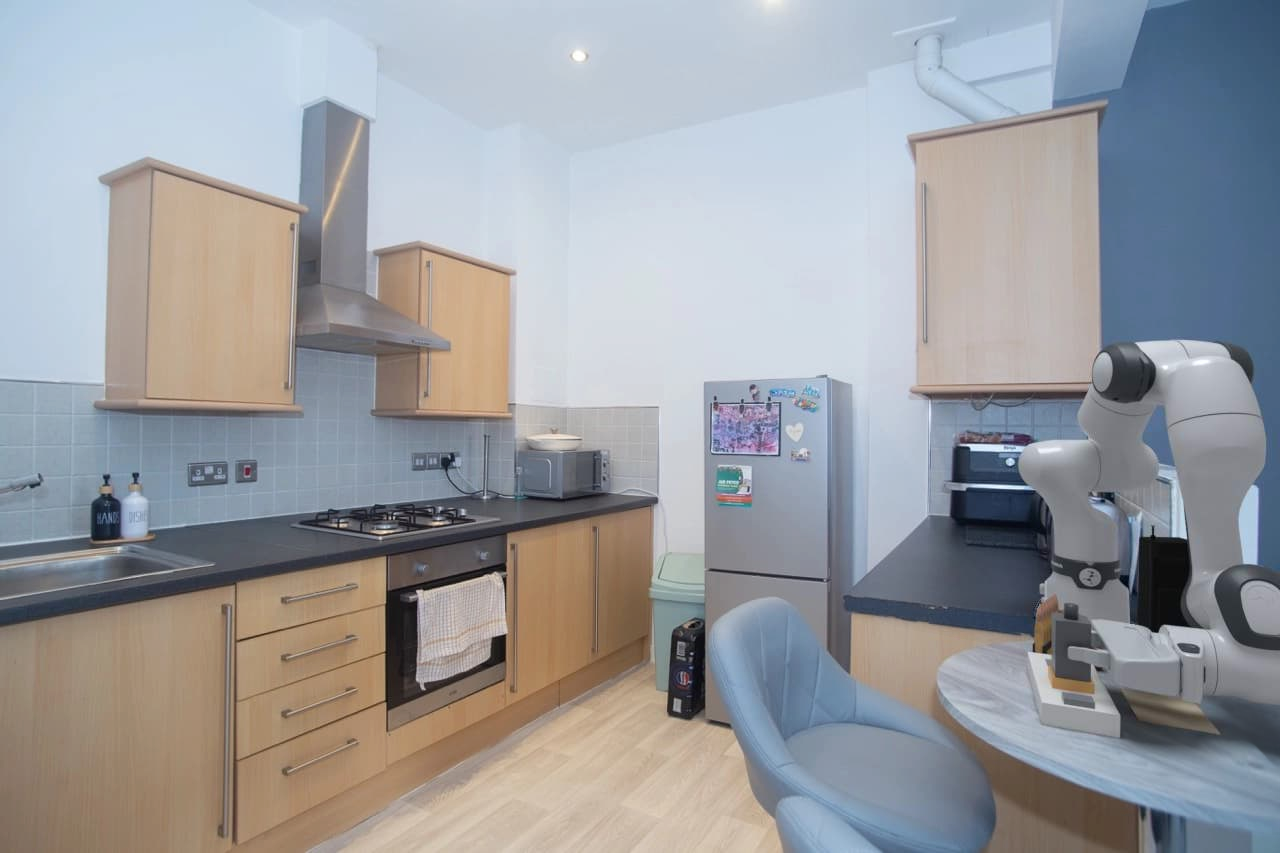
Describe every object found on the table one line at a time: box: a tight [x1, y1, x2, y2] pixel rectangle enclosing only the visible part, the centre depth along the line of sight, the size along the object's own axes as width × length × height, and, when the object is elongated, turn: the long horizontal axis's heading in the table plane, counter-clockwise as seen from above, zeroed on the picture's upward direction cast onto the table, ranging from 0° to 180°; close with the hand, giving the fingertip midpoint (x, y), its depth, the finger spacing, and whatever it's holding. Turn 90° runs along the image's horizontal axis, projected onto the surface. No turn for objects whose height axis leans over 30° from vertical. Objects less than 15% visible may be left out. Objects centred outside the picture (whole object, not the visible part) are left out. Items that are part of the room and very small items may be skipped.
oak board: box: [1120, 688, 1222, 735], centre depth 96 cm, size 12×9×1 cm
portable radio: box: [1136, 524, 1192, 633], centre depth 115 cm, size 8×6×25 cm
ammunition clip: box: [1032, 594, 1059, 655], centre depth 116 cm, size 11×2×12 cm, turn 134°
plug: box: [1048, 603, 1095, 694], centre depth 98 cm, size 5×5×15 cm
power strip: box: [1026, 651, 1121, 739], centre depth 100 cm, size 22×9×5 cm, turn 154°
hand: (1063, 643), depth 99 cm, fingers open, 6 cm apart
